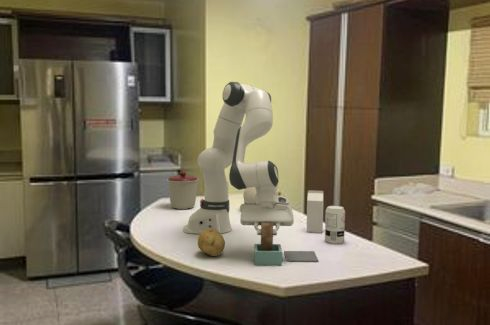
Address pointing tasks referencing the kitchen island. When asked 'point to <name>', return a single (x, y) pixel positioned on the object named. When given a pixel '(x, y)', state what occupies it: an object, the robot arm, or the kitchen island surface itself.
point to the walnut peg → (266, 236)
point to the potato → (211, 242)
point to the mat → (300, 256)
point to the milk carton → (315, 211)
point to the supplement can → (334, 224)
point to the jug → (249, 195)
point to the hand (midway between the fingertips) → (267, 234)
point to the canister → (182, 190)
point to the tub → (268, 255)
